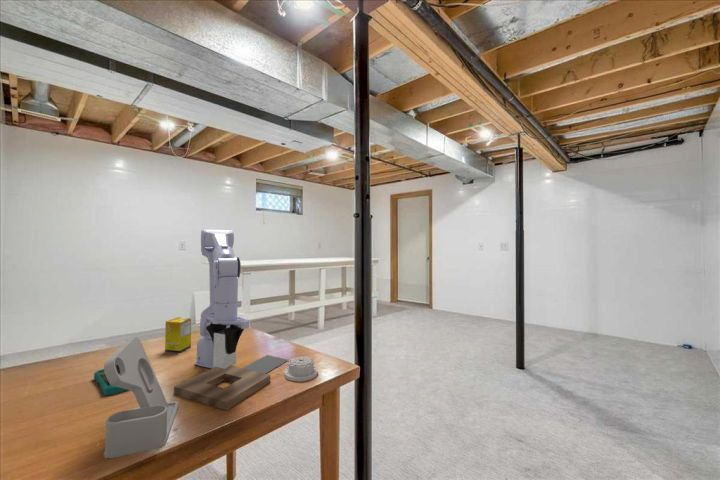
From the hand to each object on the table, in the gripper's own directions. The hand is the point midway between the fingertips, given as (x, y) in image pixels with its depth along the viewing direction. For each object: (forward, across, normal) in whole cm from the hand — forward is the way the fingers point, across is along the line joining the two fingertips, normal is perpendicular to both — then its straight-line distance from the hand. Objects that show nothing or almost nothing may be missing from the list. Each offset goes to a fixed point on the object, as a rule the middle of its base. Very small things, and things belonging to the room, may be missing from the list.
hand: (225, 351), depth 83 cm
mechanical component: (+10, +14, +16) cm, 24 cm away
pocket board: (+10, 0, 0) cm, 10 cm away
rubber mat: (+10, 0, +16) cm, 19 cm away
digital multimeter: (+11, -29, -10) cm, 33 cm away
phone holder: (+10, -1, -20) cm, 22 cm away
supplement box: (+10, -37, +14) cm, 41 cm away
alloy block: (+4, 0, 0) cm, 4 cm away
